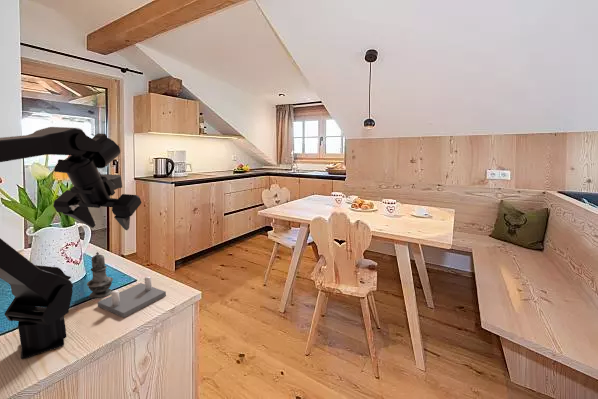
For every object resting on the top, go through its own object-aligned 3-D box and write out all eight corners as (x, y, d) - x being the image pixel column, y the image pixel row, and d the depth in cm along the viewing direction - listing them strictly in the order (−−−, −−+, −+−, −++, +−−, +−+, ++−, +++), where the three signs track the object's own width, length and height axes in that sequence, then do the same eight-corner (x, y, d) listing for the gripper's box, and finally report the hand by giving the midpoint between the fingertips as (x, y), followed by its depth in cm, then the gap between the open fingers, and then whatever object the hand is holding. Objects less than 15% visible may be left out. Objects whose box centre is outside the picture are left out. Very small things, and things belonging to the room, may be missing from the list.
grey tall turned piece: (118, 289, 84) (115, 248, 81) (103, 300, 78) (99, 256, 76) (99, 287, 84) (95, 247, 82) (82, 298, 78) (77, 255, 76)
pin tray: (123, 317, 71) (122, 299, 70) (98, 306, 75) (96, 289, 74) (165, 295, 81) (165, 279, 80) (141, 286, 86) (140, 271, 85)
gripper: (142, 163, 75) (158, 210, 85) (70, 158, 75) (94, 206, 85) (118, 189, 66) (139, 238, 76) (37, 184, 67) (68, 233, 76)
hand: (110, 227), depth 79 cm, fingers open, 9 cm apart
